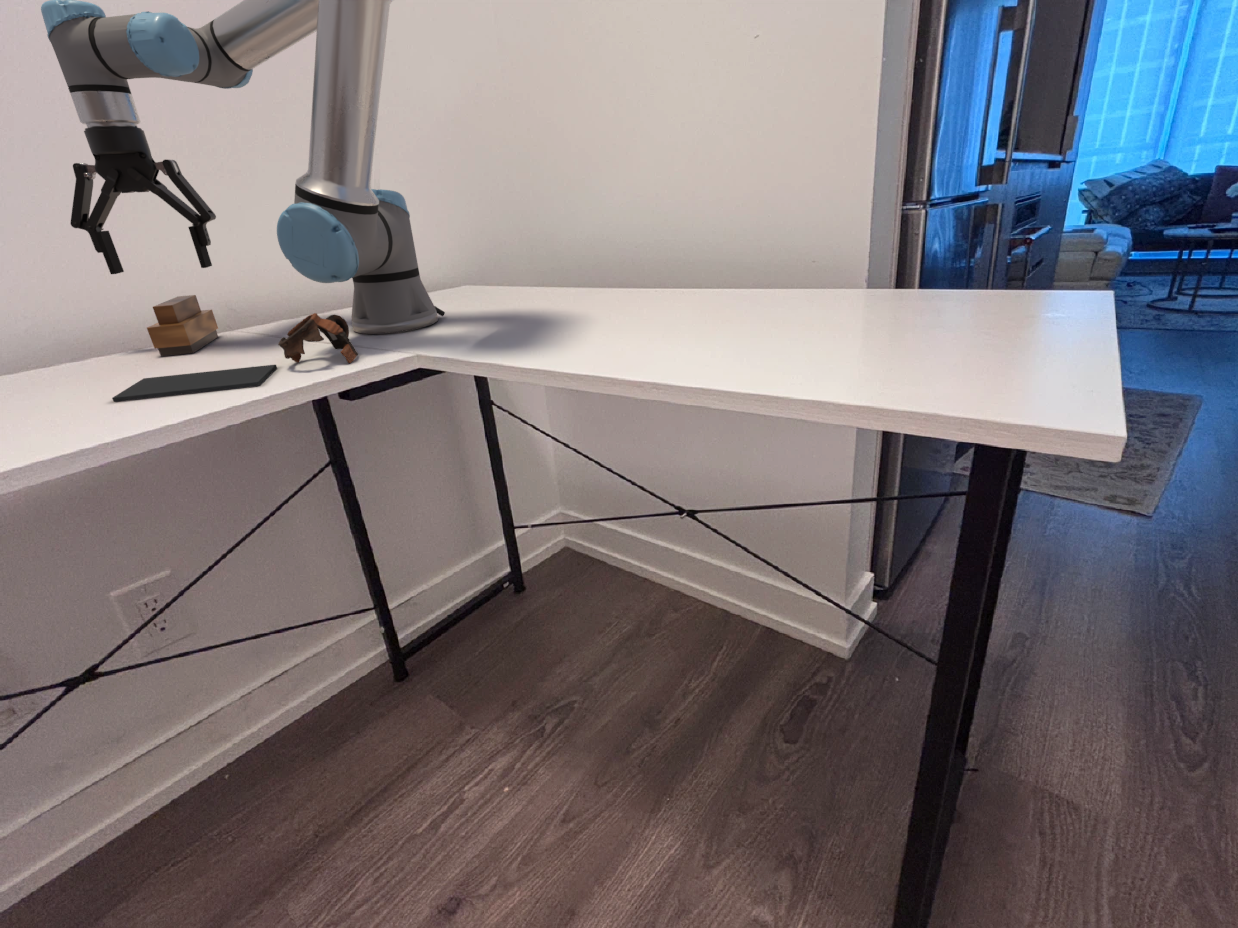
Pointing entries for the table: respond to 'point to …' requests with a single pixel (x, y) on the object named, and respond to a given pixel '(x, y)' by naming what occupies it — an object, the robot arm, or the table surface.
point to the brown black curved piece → (318, 336)
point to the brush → (182, 326)
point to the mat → (196, 383)
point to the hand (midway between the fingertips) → (162, 270)
